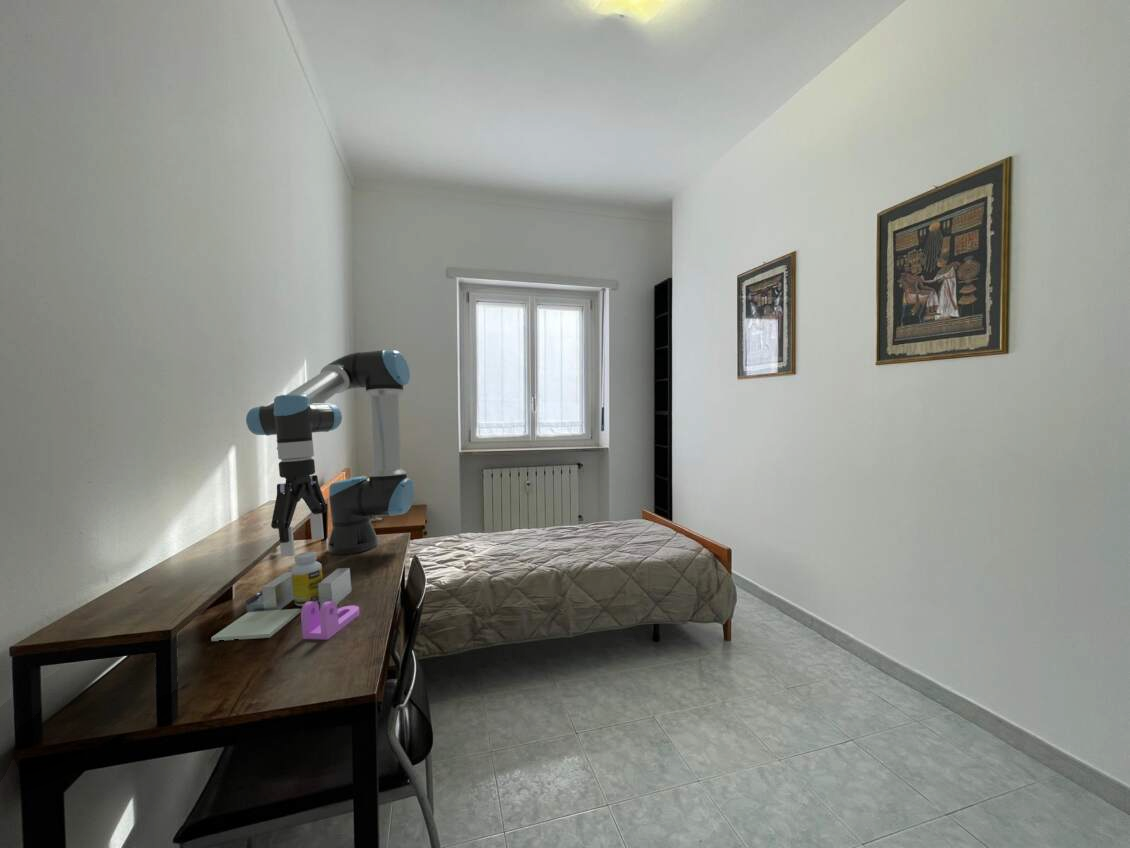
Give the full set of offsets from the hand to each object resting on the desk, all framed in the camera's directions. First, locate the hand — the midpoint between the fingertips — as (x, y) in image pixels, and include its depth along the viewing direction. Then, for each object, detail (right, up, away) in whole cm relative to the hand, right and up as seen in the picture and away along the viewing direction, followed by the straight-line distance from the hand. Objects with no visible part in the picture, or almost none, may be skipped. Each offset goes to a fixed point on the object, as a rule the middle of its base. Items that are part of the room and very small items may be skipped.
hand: (303, 547), depth 118 cm
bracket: (+13, -14, -12) cm, 23 cm away
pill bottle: (+1, -14, +1) cm, 14 cm away
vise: (-2, -14, +1) cm, 14 cm away
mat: (-4, -14, -11) cm, 18 cm away
